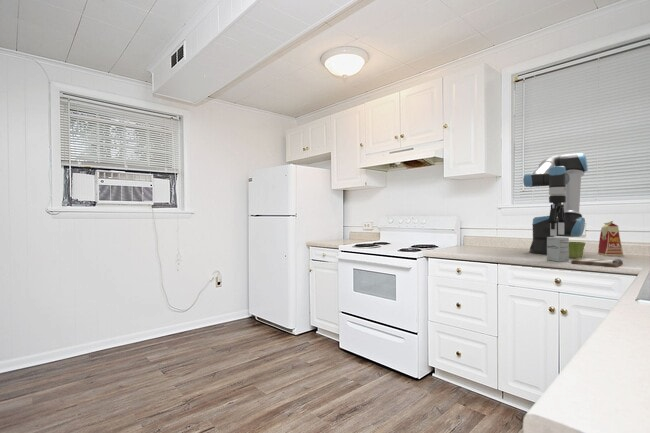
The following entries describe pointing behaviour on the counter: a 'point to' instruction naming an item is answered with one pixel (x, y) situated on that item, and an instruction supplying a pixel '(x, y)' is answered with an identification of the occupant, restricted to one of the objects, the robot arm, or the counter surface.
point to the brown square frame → (597, 262)
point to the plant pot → (576, 249)
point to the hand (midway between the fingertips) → (557, 235)
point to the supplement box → (558, 249)
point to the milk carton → (610, 240)
